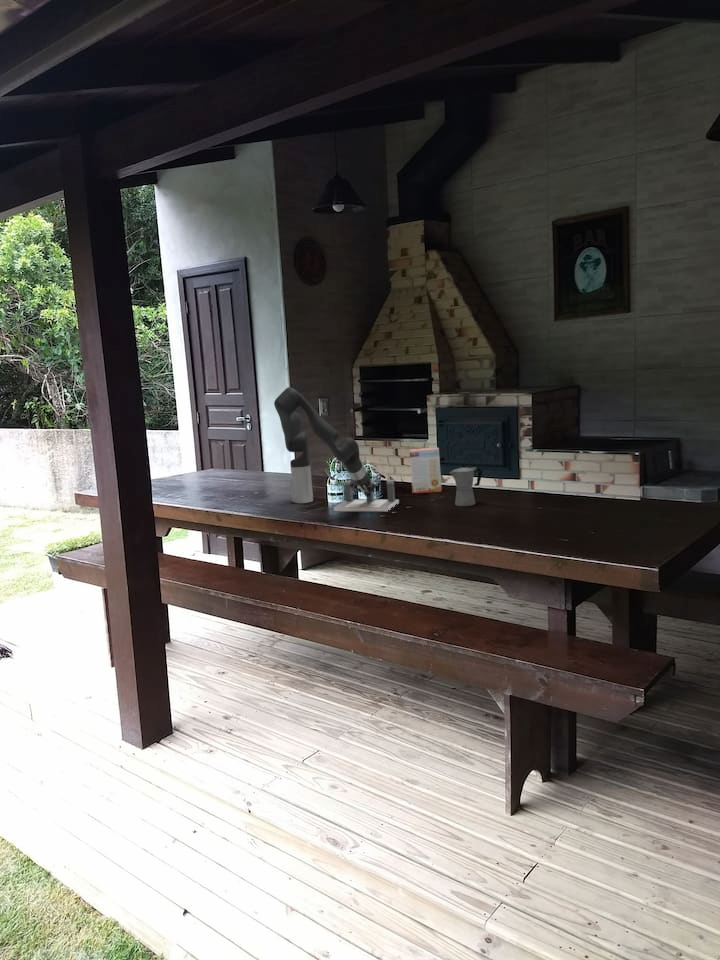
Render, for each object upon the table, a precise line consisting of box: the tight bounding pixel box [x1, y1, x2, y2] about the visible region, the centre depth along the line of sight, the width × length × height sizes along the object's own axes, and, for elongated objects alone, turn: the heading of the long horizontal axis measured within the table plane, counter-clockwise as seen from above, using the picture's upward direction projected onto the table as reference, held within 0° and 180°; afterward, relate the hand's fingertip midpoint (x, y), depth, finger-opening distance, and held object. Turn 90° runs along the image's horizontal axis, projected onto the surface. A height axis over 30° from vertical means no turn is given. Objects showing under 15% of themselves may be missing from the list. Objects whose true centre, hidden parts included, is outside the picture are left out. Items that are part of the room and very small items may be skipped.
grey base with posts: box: [333, 479, 400, 512], centre depth 332 cm, size 25×17×11 cm
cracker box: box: [409, 447, 443, 494], centre depth 356 cm, size 14×6×21 cm, turn 84°
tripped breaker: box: [366, 479, 375, 501], centre depth 337 cm, size 2×3×9 cm
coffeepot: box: [449, 462, 484, 507], centre depth 323 cm, size 15×9×18 cm, turn 107°
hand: (368, 495), depth 335 cm, fingers closed
